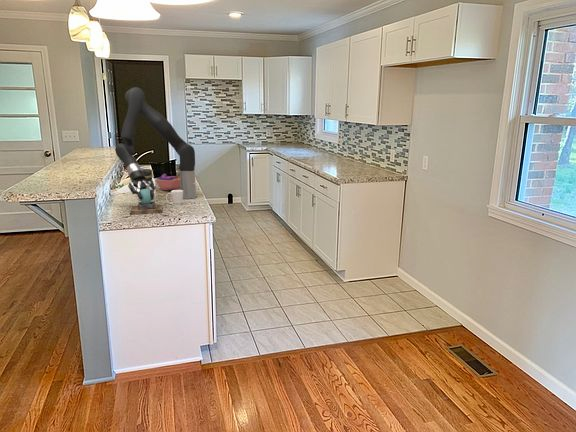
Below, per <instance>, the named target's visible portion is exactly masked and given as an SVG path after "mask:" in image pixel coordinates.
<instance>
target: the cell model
mask: <svg viewBox="0 0 576 432" xmlns="http://www.w3.org/2000/svg"><path fill="white" fill-rule="evenodd" d="M154 180H155V182H156V184H157V186H158V187H159V189H161V190H164V191H166V192H167V191H172V190H180V176H179V175H178V176H176V175H171V176H168V175H167V174H166V173H163V174H162V175H161V176H159V177H156V178H155V179H154Z"/></svg>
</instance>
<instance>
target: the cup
mask: <svg viewBox="0 0 576 432" xmlns="http://www.w3.org/2000/svg"><path fill="white" fill-rule="evenodd" d="M168 195H171V198H172V202H173V203H171V202H170V201H169V200H168V199H167V197H168ZM165 200H166V202H167V203H169V204H170V205H173V206H181V205H182V202H183V190H180V189H178V190H170V192H168V193H167V194H166V196H165Z"/></svg>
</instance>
